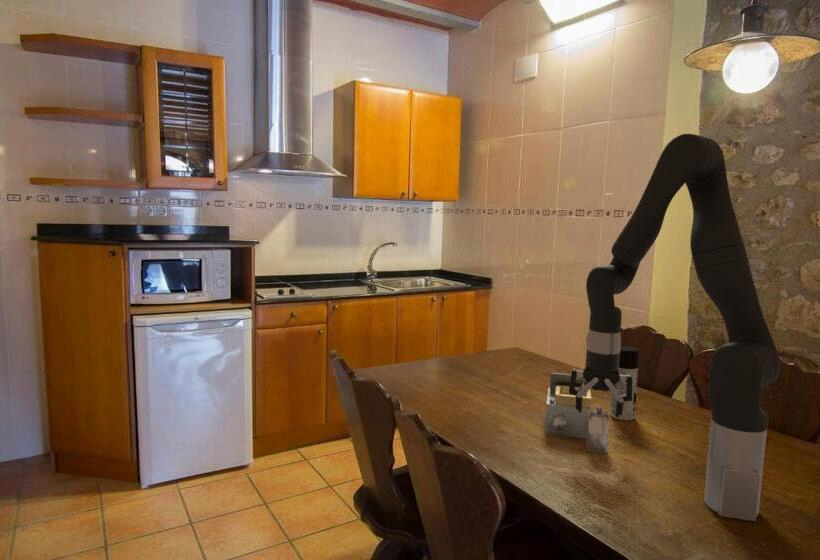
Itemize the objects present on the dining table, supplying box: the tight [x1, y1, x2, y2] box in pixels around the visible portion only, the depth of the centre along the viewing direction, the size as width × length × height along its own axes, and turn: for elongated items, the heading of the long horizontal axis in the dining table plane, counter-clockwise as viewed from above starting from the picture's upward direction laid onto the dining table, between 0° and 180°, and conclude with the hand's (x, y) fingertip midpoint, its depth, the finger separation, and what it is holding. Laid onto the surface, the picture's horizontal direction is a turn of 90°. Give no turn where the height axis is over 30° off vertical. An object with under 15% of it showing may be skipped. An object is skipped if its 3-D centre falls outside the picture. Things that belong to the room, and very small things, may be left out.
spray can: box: [609, 345, 640, 422], centre depth 150 cm, size 7×7×20 cm
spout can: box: [586, 406, 611, 455], centre depth 129 cm, size 5×5×11 cm
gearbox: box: [544, 372, 592, 440], centre depth 141 cm, size 17×11×13 cm, turn 163°
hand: (598, 413), depth 128 cm, fingers open, 8 cm apart
